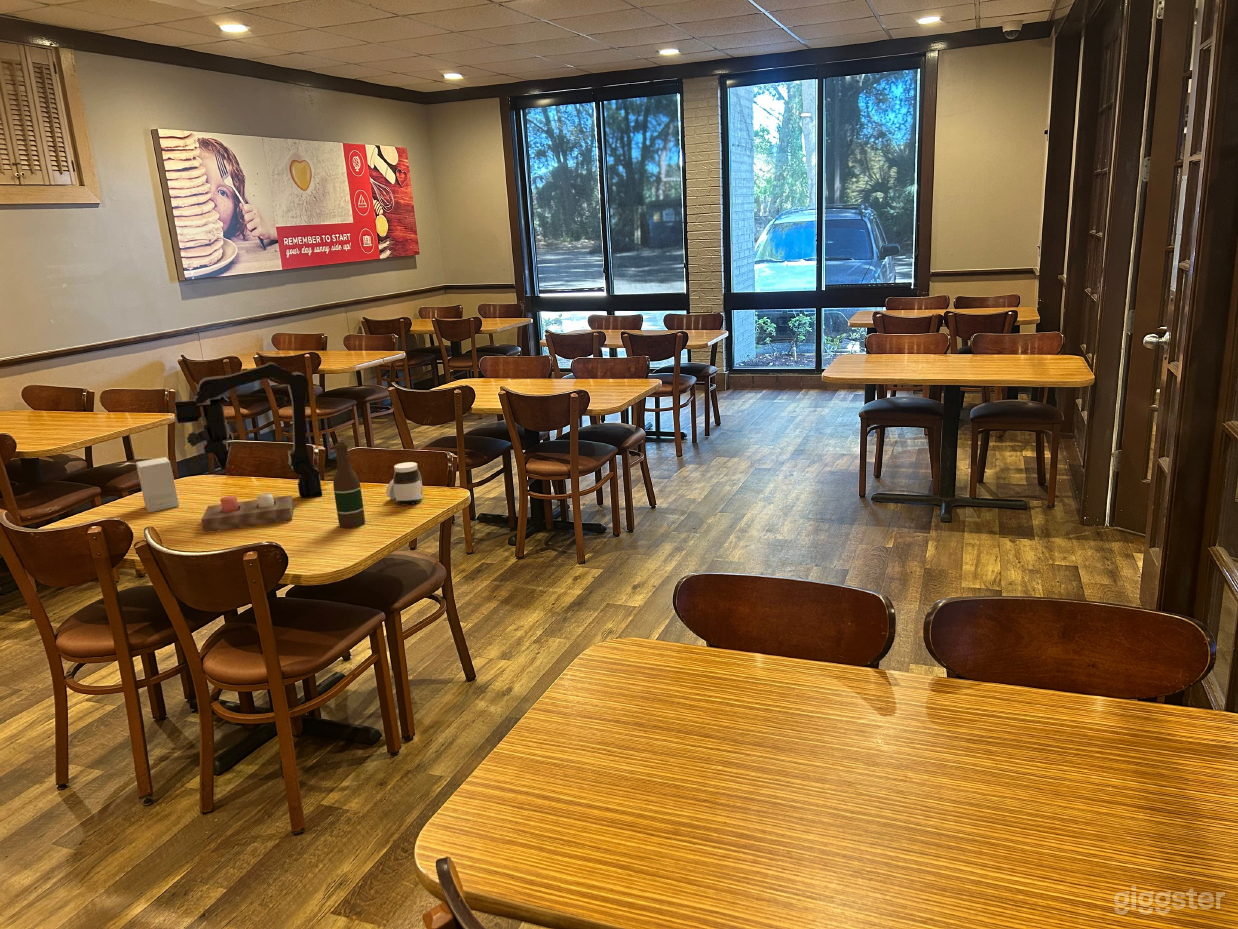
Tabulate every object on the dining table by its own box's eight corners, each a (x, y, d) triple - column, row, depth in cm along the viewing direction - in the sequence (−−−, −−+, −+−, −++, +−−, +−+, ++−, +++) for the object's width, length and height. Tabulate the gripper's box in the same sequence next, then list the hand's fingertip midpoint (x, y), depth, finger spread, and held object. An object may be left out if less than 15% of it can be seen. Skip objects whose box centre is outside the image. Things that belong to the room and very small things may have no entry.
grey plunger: (276, 511, 268) (273, 492, 266) (275, 516, 264) (272, 496, 262) (260, 513, 267) (257, 494, 265) (259, 518, 263) (256, 498, 261)
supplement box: (175, 500, 289) (166, 456, 285) (179, 506, 282) (171, 461, 278) (144, 506, 284) (135, 461, 281) (148, 512, 277) (138, 466, 273)
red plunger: (240, 514, 265) (237, 495, 264) (238, 518, 261) (235, 499, 259) (224, 516, 264) (221, 497, 262) (222, 520, 260) (219, 501, 258)
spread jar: (418, 505, 269) (414, 468, 265) (381, 507, 269) (376, 470, 266) (427, 494, 280) (423, 458, 277) (392, 496, 280) (387, 460, 277)
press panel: (294, 507, 274) (292, 495, 273) (291, 520, 261) (289, 507, 260) (210, 518, 267) (207, 506, 266) (203, 532, 254) (201, 519, 253)
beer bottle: (361, 528, 250) (350, 446, 244) (334, 529, 251) (322, 447, 245) (369, 519, 258) (358, 439, 252) (343, 520, 258) (331, 440, 252)
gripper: (190, 416, 275) (199, 465, 279) (181, 428, 258) (190, 479, 262) (229, 412, 278) (237, 460, 282) (222, 424, 261) (231, 475, 265)
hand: (223, 468), depth 273 cm, fingers closed
